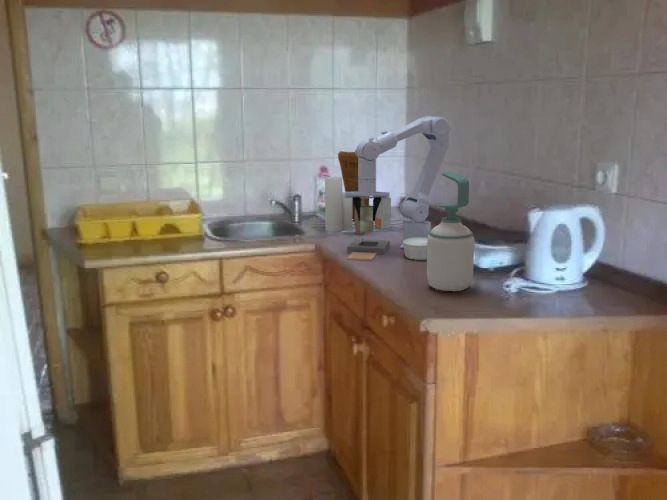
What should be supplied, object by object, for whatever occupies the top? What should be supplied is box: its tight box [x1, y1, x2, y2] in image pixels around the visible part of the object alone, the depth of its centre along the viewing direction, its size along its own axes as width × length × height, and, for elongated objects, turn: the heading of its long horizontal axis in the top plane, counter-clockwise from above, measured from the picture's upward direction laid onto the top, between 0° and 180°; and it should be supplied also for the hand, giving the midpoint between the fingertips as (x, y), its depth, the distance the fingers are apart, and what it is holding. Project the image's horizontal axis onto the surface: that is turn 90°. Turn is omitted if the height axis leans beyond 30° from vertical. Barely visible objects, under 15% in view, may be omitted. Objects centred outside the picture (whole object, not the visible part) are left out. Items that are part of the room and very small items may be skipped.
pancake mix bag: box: [337, 151, 370, 220], centre depth 277 cm, size 7×19×28 cm, turn 32°
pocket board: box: [346, 238, 391, 255], centre depth 230 cm, size 12×12×2 cm
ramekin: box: [402, 237, 428, 261], centre depth 219 cm, size 11×11×5 cm
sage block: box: [360, 205, 375, 233], centre depth 225 cm, size 4×4×8 cm
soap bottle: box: [426, 170, 475, 290], centre depth 182 cm, size 12×12×31 cm
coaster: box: [346, 252, 378, 262], centre depth 220 cm, size 8×8×1 cm
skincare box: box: [374, 197, 392, 230], centre depth 265 cm, size 6×4×12 cm
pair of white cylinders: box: [324, 176, 354, 233], centre depth 261 cm, size 11×7×20 cm, turn 135°
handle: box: [354, 196, 368, 236], centre depth 253 cm, size 5×6×15 cm
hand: (366, 220), depth 225 cm, fingers closed on sage block, 4 cm apart
